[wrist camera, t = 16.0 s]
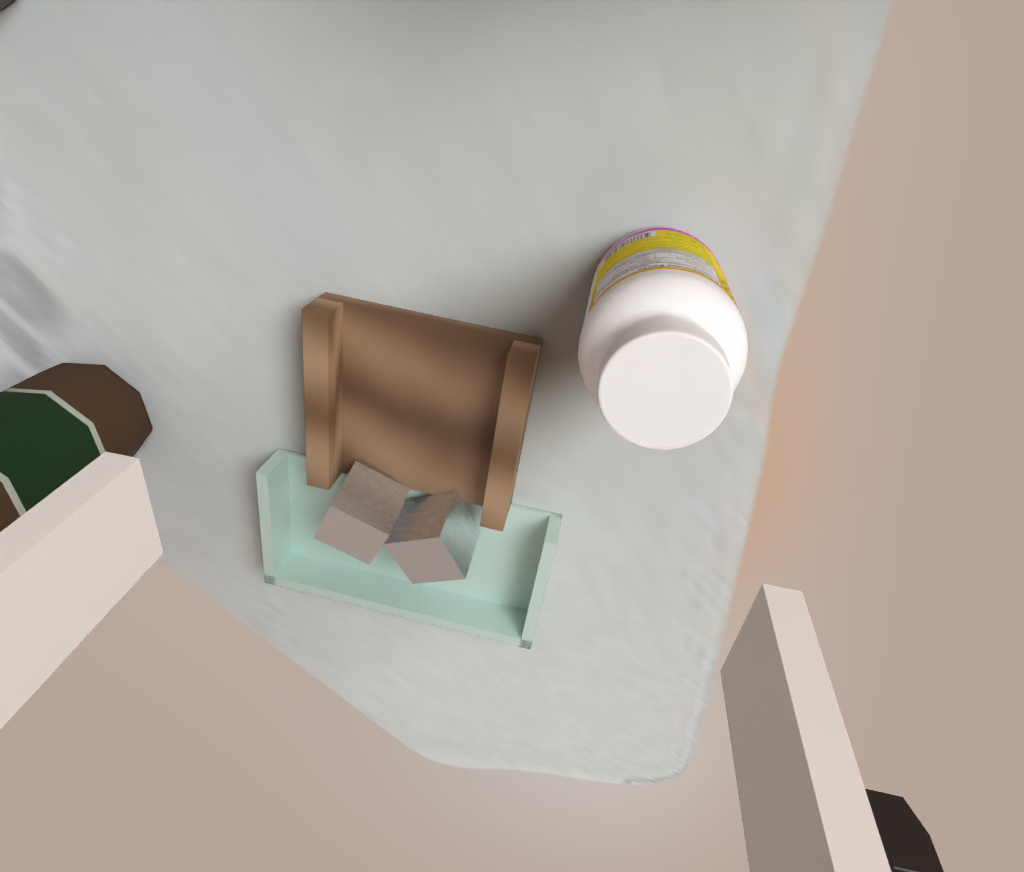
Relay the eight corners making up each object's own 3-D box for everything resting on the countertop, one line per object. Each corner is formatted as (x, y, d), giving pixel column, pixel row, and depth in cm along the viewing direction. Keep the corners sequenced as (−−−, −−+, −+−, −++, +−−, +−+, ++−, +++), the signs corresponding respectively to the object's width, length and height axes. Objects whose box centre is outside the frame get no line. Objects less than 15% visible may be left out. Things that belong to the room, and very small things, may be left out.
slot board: (325, 292, 36) (301, 309, 34) (542, 339, 35) (535, 360, 33) (326, 460, 42) (306, 484, 40) (511, 503, 41) (502, 531, 39)
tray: (278, 448, 43) (255, 472, 40) (562, 515, 41) (557, 544, 39) (284, 555, 48) (264, 582, 45) (536, 617, 46) (530, 649, 44)
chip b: (403, 498, 42) (383, 544, 39) (456, 490, 40) (439, 537, 37) (429, 538, 44) (412, 584, 41) (479, 532, 43) (465, 579, 40)
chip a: (355, 460, 40) (330, 505, 37) (410, 488, 41) (389, 535, 38) (338, 493, 43) (313, 537, 40) (390, 519, 44) (369, 564, 41)
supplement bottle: (691, 361, 34) (714, 497, 23) (577, 326, 34) (547, 445, 24) (744, 243, 31) (800, 338, 20) (616, 205, 31) (602, 278, 20)
